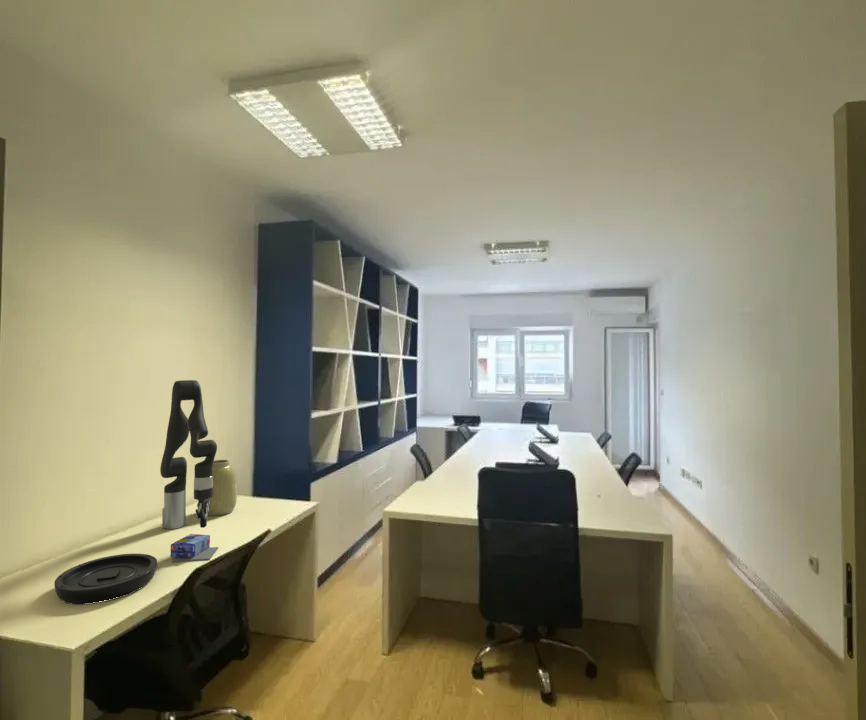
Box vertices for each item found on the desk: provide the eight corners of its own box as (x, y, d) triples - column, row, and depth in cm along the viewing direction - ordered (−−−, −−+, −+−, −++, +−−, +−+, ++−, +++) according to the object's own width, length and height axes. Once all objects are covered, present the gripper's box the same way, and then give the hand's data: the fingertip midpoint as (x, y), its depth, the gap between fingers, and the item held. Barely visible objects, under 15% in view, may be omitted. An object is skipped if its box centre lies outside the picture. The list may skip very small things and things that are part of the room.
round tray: (162, 562, 187) (70, 576, 175) (162, 547, 187) (70, 560, 175) (150, 596, 159) (39, 615, 147) (150, 579, 159) (40, 596, 147)
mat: (172, 562, 186) (172, 560, 186) (183, 550, 198) (183, 549, 198) (209, 559, 188) (209, 558, 188) (218, 548, 200) (218, 546, 200)
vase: (219, 505, 261) (219, 457, 262) (243, 508, 255) (243, 459, 256) (193, 515, 245) (194, 463, 245) (219, 518, 239) (219, 465, 240)
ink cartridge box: (210, 534, 200) (188, 548, 186) (210, 546, 200) (188, 561, 186) (189, 532, 202) (165, 546, 187) (189, 545, 202) (165, 560, 187)
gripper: (199, 483, 208) (199, 522, 208) (188, 491, 195) (188, 532, 195) (217, 482, 210) (217, 521, 209) (208, 490, 197) (207, 531, 196)
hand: (203, 526), depth 202 cm, fingers closed
